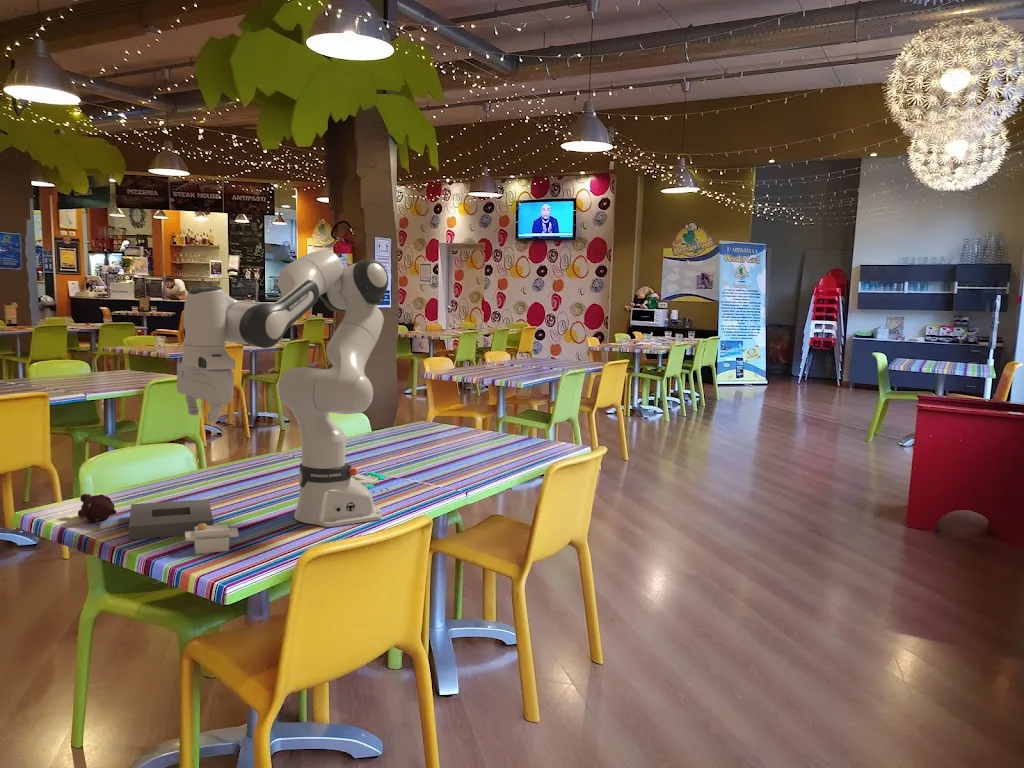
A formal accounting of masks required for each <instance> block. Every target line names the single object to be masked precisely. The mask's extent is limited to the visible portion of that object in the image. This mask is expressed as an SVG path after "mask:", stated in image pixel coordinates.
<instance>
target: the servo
mask: <svg viewBox="0 0 1024 768" xmlns="http://www.w3.org/2000/svg"><path fill="white" fill-rule="evenodd" d="M239 534H240V533H239V529H238V528H237V527H230V528H229V524H228V523H225V524H213V525H211V526H207V524H205V523H201V524H198V527H195V531H188V532H185V535H184V538H185V542H191V541H192V542H193V541H194V553H195V555H198V554H206V553H207V554H208V553H216V552H229V551H230V538H239Z"/></svg>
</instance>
